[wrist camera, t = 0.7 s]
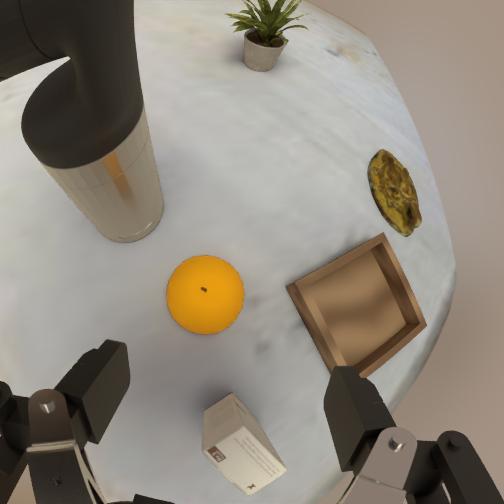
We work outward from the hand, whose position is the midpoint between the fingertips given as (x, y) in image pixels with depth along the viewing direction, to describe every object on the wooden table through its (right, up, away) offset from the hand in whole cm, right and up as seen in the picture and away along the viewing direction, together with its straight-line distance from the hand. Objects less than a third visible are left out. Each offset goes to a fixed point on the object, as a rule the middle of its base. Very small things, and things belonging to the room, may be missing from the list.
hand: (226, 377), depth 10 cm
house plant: (+2, +40, +34) cm, 52 cm away
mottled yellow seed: (+23, +14, +32) cm, 42 cm away
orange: (-4, -1, +22) cm, 23 cm away
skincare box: (-2, -14, +19) cm, 24 cm away
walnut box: (+14, -3, +25) cm, 29 cm away
